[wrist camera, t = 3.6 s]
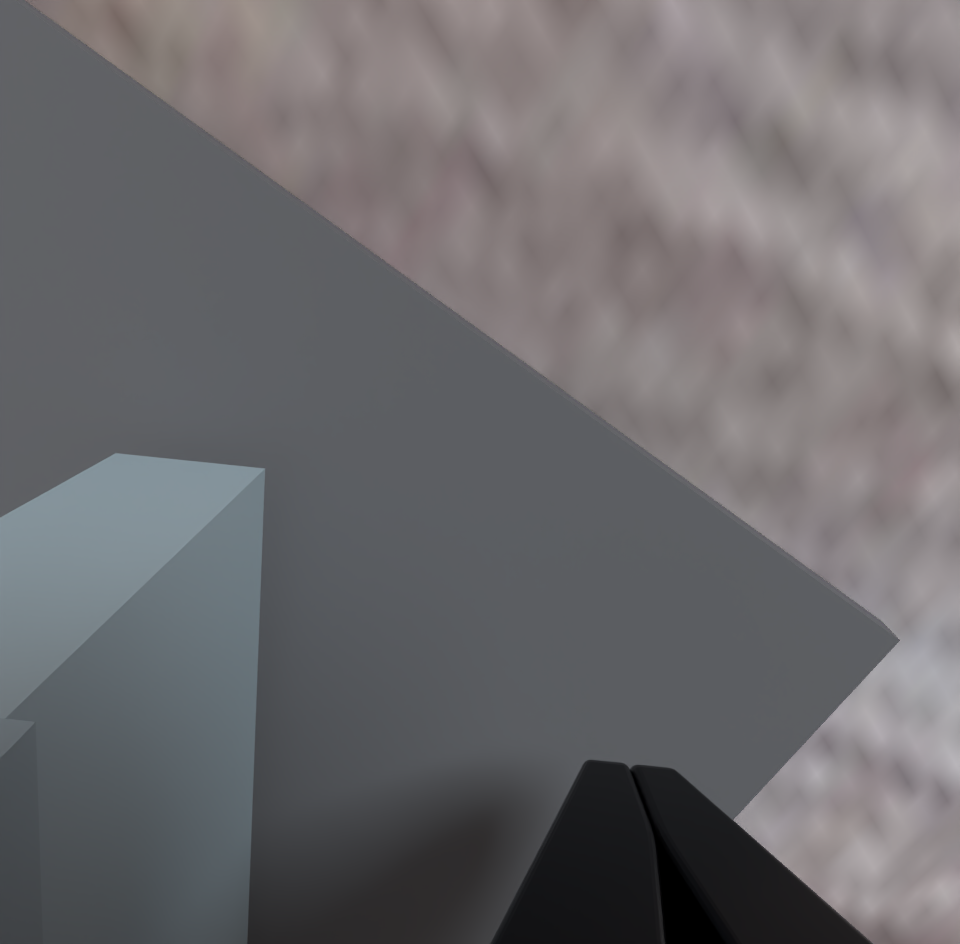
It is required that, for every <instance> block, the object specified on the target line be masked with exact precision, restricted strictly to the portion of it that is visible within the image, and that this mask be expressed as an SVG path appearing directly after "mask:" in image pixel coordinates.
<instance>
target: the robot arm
mask: <svg viewBox="0 0 960 944" xmlns="http://www.w3.org/2000/svg"><path fill="white" fill-rule="evenodd" d="M490 944H873V943H872V942H870V941H869V940H868V939H867V938H866V937H865V936H864V935H863V934H861V933H860V932H859V931H858V930H857V929H856V928H855V927H853V926H852V925H851V924H850V923H849V922H848V921H847V920H846V919H844V918H843V917H842V916H841V915H840V914H839V913H838V912H836V911H835V910H834V909H833V908H832V907H831V906H830V905H828V904H827V903H826V902H825V901H824V900H823V899H822V898H821V897H819V896H818V895H817V894H816V893H815V892H814V891H813V890H811V889H810V888H809V887H808V886H807V885H806V884H805V883H804V882H802V881H801V880H800V879H799V878H798V877H797V876H796V875H794V874H793V873H792V872H791V871H790V870H789V869H788V868H787V867H785V866H784V865H783V864H782V863H781V862H780V861H779V860H777V859H776V858H775V857H774V856H773V855H772V854H771V853H770V852H768V851H767V850H766V849H765V848H764V847H763V846H762V845H760V844H759V843H758V842H757V841H756V840H755V839H754V838H753V837H751V836H750V835H749V834H748V833H747V832H746V831H745V830H743V829H742V828H741V827H740V826H739V825H738V824H737V823H735V822H734V821H733V820H732V819H731V818H730V817H729V816H728V815H726V814H725V813H724V812H723V811H722V810H721V809H720V808H718V807H717V806H716V805H715V804H714V803H713V802H712V801H711V800H709V799H708V798H707V797H706V796H705V795H704V794H703V793H701V792H700V791H699V790H698V789H697V788H696V787H695V786H694V785H692V784H691V783H690V782H689V781H688V780H687V779H686V778H684V777H683V776H682V775H681V774H680V773H679V772H677V771H676V770H675V769H672V768H669V767H659V766H649V765H634V766H632V767H631V769H630V768H629V767H628V766H627V765H626V764H624V763H620V762H610V761H601V760H587V761H585V762H584V764H583V765H582V767H581V769H580V771H579V773H578V775H577V777H576V779H575V781H574V782H573V784H572V786H571V788H570V790H569V792H568V794H567V796H566V798H565V800H564V802H563V804H562V806H561V808H560V810H559V812H558V814H557V815H556V817H555V819H554V821H553V823H552V825H551V827H550V829H549V831H548V833H547V835H546V837H545V839H544V841H543V843H542V845H541V846H540V848H539V850H538V852H537V854H536V856H535V858H534V860H533V862H532V864H531V866H530V868H529V870H528V872H527V874H526V876H525V878H524V879H523V881H522V883H521V885H520V887H519V889H518V891H517V893H516V895H515V897H514V899H513V901H512V903H511V905H510V907H509V909H508V910H507V912H506V914H505V916H504V918H503V920H502V922H501V924H500V926H499V928H498V930H497V932H496V934H495V936H494V938H493V940H492V942H491V943H490Z"/></svg>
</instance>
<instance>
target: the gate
mask: <svg viewBox="0 0 960 944" xmlns="http://www.w3.org/2000/svg"><path fill="white" fill-rule="evenodd" d="M264 485H265V468H255V467H246V466H236V465H226V464H216V463H207V462H197V461H187V460H177V459H168V458H158V457H148V456H139V455H129V454H119V453H115V454H113V455H112V456H110V457H108V458H106V459H104V460H103V461H101V462H99V463H97V464H95V465H94V466H92V467H90V468H88V469H86V470H85V471H83V472H81V473H79V474H77V475H76V476H74V477H72V478H70V479H69V480H67V481H65V482H63V483H61V484H60V485H58V486H56V487H54V488H52V489H51V490H49V491H47V492H45V493H43V494H42V495H40V496H38V497H36V498H34V499H33V500H31V501H29V502H27V503H25V504H24V505H22V506H20V507H18V508H16V509H15V510H13V511H11V512H9V513H8V514H6V515H4V516H2V517H0V944H247V938H248V911H249V884H250V858H251V831H252V804H253V778H254V751H255V725H256V698H257V671H258V645H259V618H260V591H261V565H262V538H263V511H264Z"/></svg>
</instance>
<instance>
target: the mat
mask: <svg viewBox="0 0 960 944" xmlns="http://www.w3.org/2000/svg"><path fill="white" fill-rule="evenodd" d="M115 453H119V454H129V455H139V456H148V457H158V458H168V459H177V460H187V461H197V462H207V463H216V464H226V465H236V466H246V467H255V468H265V485H264V511H263V538H262V565H261V591H260V618H259V645H258V671H257V698H256V725H255V751H254V778H253V804H252V831H251V858H250V884H249V911H248V938H247V944H490V943H491V942H492V940H493V938H494V936H495V934H496V932H497V930H498V928H499V926H500V924H501V922H502V920H503V918H504V916H505V914H506V912H507V910H508V909H509V907H510V905H511V903H512V901H513V899H514V897H515V895H516V893H517V891H518V889H519V887H520V885H521V883H522V881H523V879H524V878H525V876H526V874H527V872H528V870H529V868H530V866H531V864H532V862H533V860H534V858H535V856H536V854H537V852H538V850H539V848H540V846H541V845H542V843H543V841H544V839H545V837H546V835H547V833H548V831H549V829H550V827H551V825H552V823H553V821H554V819H555V817H556V815H557V814H558V812H559V810H560V808H561V806H562V804H563V802H564V800H565V798H566V796H567V794H568V792H569V790H570V788H571V786H572V784H573V782H574V781H575V779H576V777H577V775H578V773H579V771H580V769H581V767H582V765H583V764H584V762H585V761H587V760H601V761H610V762H620V763H624V764H626V765H627V766H628V767H629V768H630V769H631V767H632V766H634V765H649V766H659V767H669V768H672V769H675V770H676V771H677V772H679V773H680V774H681V775H682V776H683V777H684V778H686V779H687V780H688V781H689V782H690V783H691V784H692V785H694V786H695V787H696V788H697V789H698V790H699V791H700V792H701V793H703V794H704V795H705V796H706V797H707V798H708V799H709V800H711V801H712V802H713V803H714V804H715V805H716V806H717V807H718V808H720V809H721V810H722V811H723V812H724V813H725V814H726V815H728V816H729V817H730V818H731V819H732V820H734V818H735V817H736V816H737V815H738V814H739V813H740V812H741V811H742V810H743V809H744V808H745V807H746V806H747V804H748V803H749V802H750V801H751V800H752V799H753V798H754V797H755V796H756V795H757V794H758V793H759V792H760V790H761V789H762V788H763V787H764V786H765V785H766V784H767V783H768V782H769V781H770V780H771V779H772V778H773V776H774V775H775V774H776V773H777V772H778V771H779V770H780V769H781V768H782V767H783V766H784V765H785V764H786V762H787V761H788V760H789V759H790V758H791V757H792V756H793V755H794V754H795V753H796V752H797V751H798V750H799V748H800V747H801V746H802V745H803V744H804V743H805V742H806V741H807V740H808V739H809V738H810V737H811V736H812V734H813V733H814V732H815V731H816V730H817V729H818V728H819V727H820V726H821V725H822V724H823V723H824V722H825V720H826V719H827V718H828V717H829V716H830V715H831V714H832V713H833V712H834V711H835V710H836V709H837V708H838V706H839V705H840V704H841V703H842V702H843V701H844V700H845V699H846V698H847V697H848V696H849V695H850V694H851V692H852V691H853V690H854V689H855V688H856V687H857V686H858V685H859V684H860V683H861V682H862V681H863V680H864V678H865V677H866V676H867V675H868V674H869V673H870V672H871V671H872V670H873V669H874V668H875V667H876V666H877V664H878V663H879V662H880V661H881V660H882V659H883V658H884V657H885V656H886V655H887V654H888V653H889V652H890V650H891V649H892V648H893V647H894V646H895V645H896V644H897V643H898V642H899V641H900V640H899V639H898V638H897V637H896V636H895V635H894V634H893V633H892V632H891V630H890V629H889V628H888V627H887V626H886V625H885V624H884V623H883V622H882V621H881V620H879V619H878V618H876V617H875V616H874V615H872V614H871V613H870V612H868V611H867V610H865V609H864V608H863V607H861V606H860V605H859V604H857V603H856V602H854V601H853V600H852V599H850V598H849V597H847V596H846V595H845V594H843V593H842V592H841V591H839V590H838V589H836V588H835V587H834V586H832V585H831V584H830V583H828V582H827V581H825V580H824V579H823V578H821V577H820V576H819V575H817V574H816V573H814V572H813V571H812V570H810V569H809V568H807V567H806V566H805V565H803V564H802V563H801V562H799V561H798V560H796V559H795V558H794V557H792V556H791V555H790V554H788V553H787V552H785V551H784V550H783V549H781V548H780V547H778V546H777V545H776V544H774V543H773V542H772V541H770V540H769V539H767V538H766V537H765V536H763V535H762V534H761V533H759V532H758V531H756V530H755V529H754V528H752V527H751V526H749V525H748V524H747V523H745V522H744V521H743V520H741V519H740V518H738V517H737V516H736V515H734V514H733V513H732V512H730V511H729V510H727V509H726V508H725V507H723V506H722V505H720V504H719V503H718V502H716V501H715V500H714V499H712V498H711V497H709V496H708V495H707V494H705V493H704V492H703V491H701V490H700V489H698V488H697V487H696V486H694V485H693V484H691V483H690V482H689V481H687V480H686V479H685V478H683V477H682V476H680V475H679V474H678V473H676V472H675V471H674V470H672V469H671V468H669V467H668V466H667V465H665V464H664V463H662V462H661V461H660V460H658V459H657V458H656V457H654V456H653V455H651V454H650V453H649V452H647V451H646V450H645V449H643V448H642V447H640V446H639V445H638V444H636V443H635V442H633V441H632V440H631V439H629V438H628V437H627V436H625V435H624V434H622V433H621V432H620V431H618V430H617V429H616V428H614V427H613V426H611V425H610V424H609V423H607V422H606V421H604V420H603V419H602V418H600V417H599V416H598V415H596V414H595V413H593V412H592V411H591V410H589V409H588V408H587V407H585V406H584V405H582V404H581V403H580V402H578V401H577V400H576V399H574V398H573V397H571V396H570V395H569V394H567V393H566V392H564V391H563V390H562V389H560V388H559V387H558V386H556V385H555V384H553V383H552V382H551V381H549V380H548V379H547V378H545V377H544V376H542V375H541V374H540V373H538V372H537V371H535V370H534V369H533V368H531V367H530V366H529V365H527V364H526V363H524V362H523V361H522V360H520V359H519V358H518V357H516V356H515V355H513V354H512V353H511V352H509V351H508V350H506V349H505V348H504V347H502V346H501V345H500V344H498V343H497V342H495V341H494V340H493V339H491V338H490V337H489V336H487V335H486V334H484V333H483V332H482V331H480V330H479V329H477V328H476V327H475V326H473V325H472V324H471V323H469V322H468V321H466V320H465V319H464V318H462V317H461V316H460V315H458V314H457V313H455V312H454V311H453V310H451V309H450V308H448V307H447V306H446V305H444V304H443V303H442V302H440V301H439V300H437V299H436V298H435V297H433V296H432V295H431V294H429V293H428V292H426V291H425V290H424V289H422V288H421V287H419V286H418V285H417V284H415V283H414V282H413V281H411V280H410V279H408V278H407V277H406V276H404V275H403V274H402V273H400V272H399V271H397V270H396V269H395V268H393V267H392V266H390V265H389V264H388V263H386V262H385V261H384V260H382V259H381V258H379V257H378V256H377V255H375V254H374V253H373V252H371V251H370V250H368V249H367V248H366V247H364V246H363V245H361V244H360V243H359V242H357V241H356V240H355V239H353V238H352V237H350V236H349V235H348V234H346V233H345V232H344V231H342V230H341V229H339V228H338V227H337V226H335V225H334V224H332V223H331V222H330V221H328V220H327V219H326V218H324V217H323V216H321V215H320V214H319V213H317V212H316V211H315V210H313V209H312V208H310V207H309V206H308V205H306V204H305V203H304V202H302V201H301V200H299V199H298V198H297V197H295V196H294V195H292V194H291V193H290V192H288V191H287V190H286V189H284V188H283V187H281V186H280V185H279V184H277V183H276V182H275V181H273V180H272V179H270V178H269V177H268V176H266V175H265V174H263V173H262V172H261V171H259V170H258V169H257V168H255V167H254V166H252V165H251V164H250V163H248V162H247V161H246V160H244V159H243V158H241V157H240V156H239V155H237V154H236V153H234V152H233V151H232V150H230V149H229V148H228V147H226V146H225V145H223V144H222V143H221V142H219V141H218V140H217V139H215V138H214V137H212V136H211V135H210V134H208V133H207V132H205V131H204V130H203V129H201V128H200V127H199V126H197V125H196V124H194V123H193V122H192V121H190V120H189V119H188V118H186V117H185V116H183V115H182V114H181V113H179V112H178V111H176V110H175V109H174V108H172V107H171V106H170V105H168V104H167V103H165V102H164V101H163V100H161V99H160V98H159V97H157V96H156V95H154V94H153V93H152V92H150V91H149V90H147V89H146V88H145V87H143V86H142V85H141V84H139V83H138V82H136V81H135V80H134V79H132V78H131V77H130V76H128V75H127V74H125V73H124V72H123V71H121V70H120V69H118V68H117V67H116V66H114V65H113V64H112V63H110V62H109V61H107V60H106V59H105V58H103V57H102V56H101V55H99V54H98V53H96V52H95V51H94V50H92V49H91V48H89V47H88V46H87V45H85V44H84V43H83V42H81V41H80V40H78V39H77V38H76V37H74V36H73V35H72V34H70V33H69V32H67V31H66V30H65V29H63V28H62V27H61V26H59V25H58V24H56V23H55V22H54V21H52V20H51V19H49V18H48V17H47V16H45V15H44V14H43V13H41V12H40V11H38V10H37V9H36V8H34V7H33V6H32V5H30V4H29V3H27V2H26V1H25V0H0V517H2V516H4V515H6V514H8V513H9V512H11V511H13V510H15V509H16V508H18V507H20V506H22V505H24V504H25V503H27V502H29V501H31V500H33V499H34V498H36V497H38V496H40V495H42V494H43V493H45V492H47V491H49V490H51V489H52V488H54V487H56V486H58V485H60V484H61V483H63V482H65V481H67V480H69V479H70V478H72V477H74V476H76V475H77V474H79V473H81V472H83V471H85V470H86V469H88V468H90V467H92V466H94V465H95V464H97V463H99V462H101V461H103V460H104V459H106V458H108V457H110V456H112V455H113V454H115Z"/></svg>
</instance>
